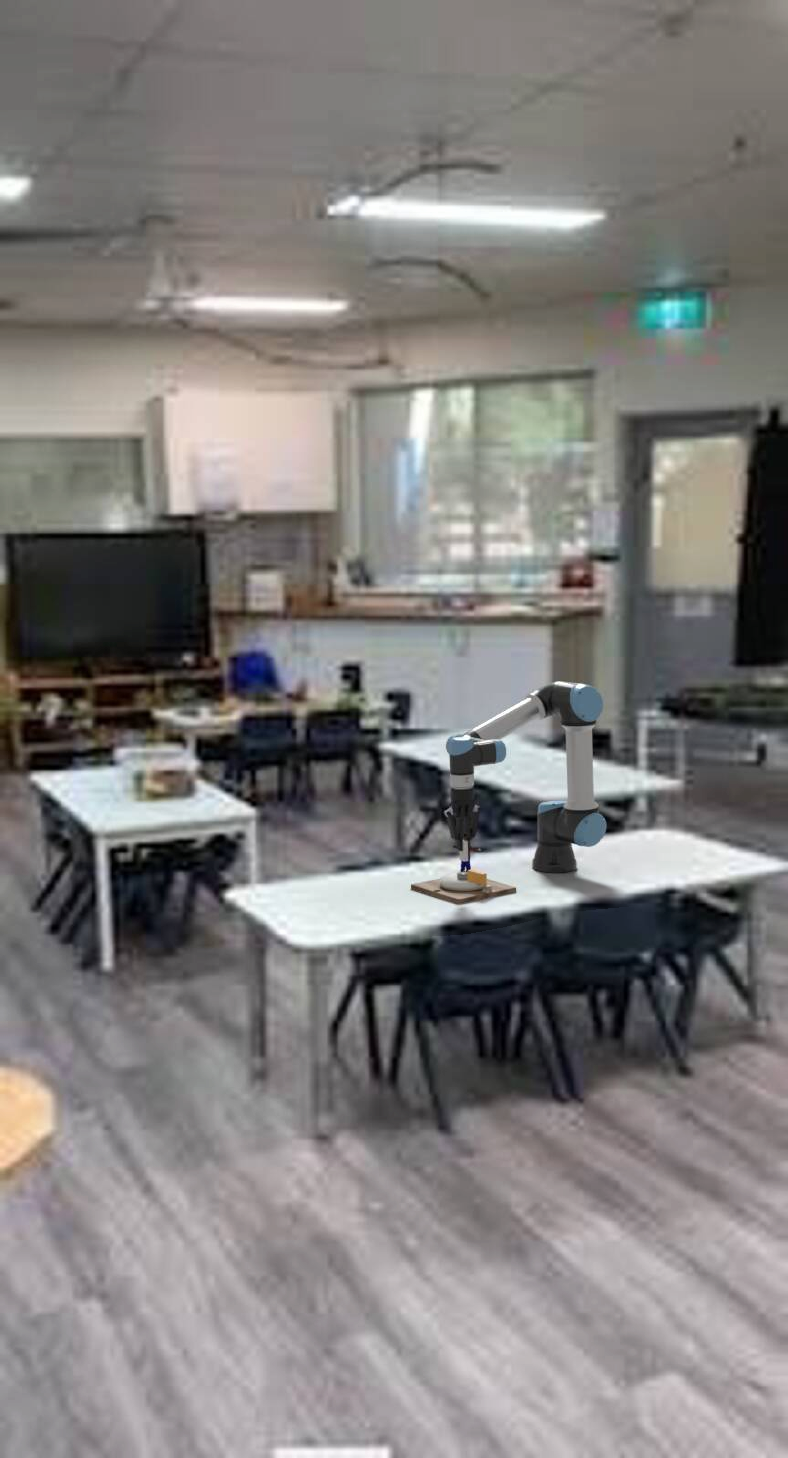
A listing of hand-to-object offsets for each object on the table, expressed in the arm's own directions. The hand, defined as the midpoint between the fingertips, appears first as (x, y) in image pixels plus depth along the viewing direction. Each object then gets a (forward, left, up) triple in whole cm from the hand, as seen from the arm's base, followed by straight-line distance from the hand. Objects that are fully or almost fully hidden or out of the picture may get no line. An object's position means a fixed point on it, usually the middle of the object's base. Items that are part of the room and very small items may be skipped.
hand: (463, 860), depth 453 cm
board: (-5, -6, -12) cm, 14 cm away
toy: (-22, -25, -12) cm, 35 cm away
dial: (-5, -5, -10) cm, 12 cm away
